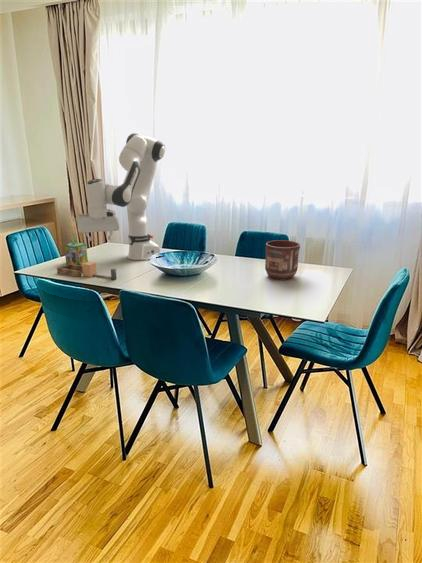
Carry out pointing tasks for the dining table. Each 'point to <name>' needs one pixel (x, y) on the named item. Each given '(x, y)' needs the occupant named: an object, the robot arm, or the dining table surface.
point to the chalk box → (75, 253)
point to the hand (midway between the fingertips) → (99, 240)
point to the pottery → (281, 259)
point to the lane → (70, 270)
